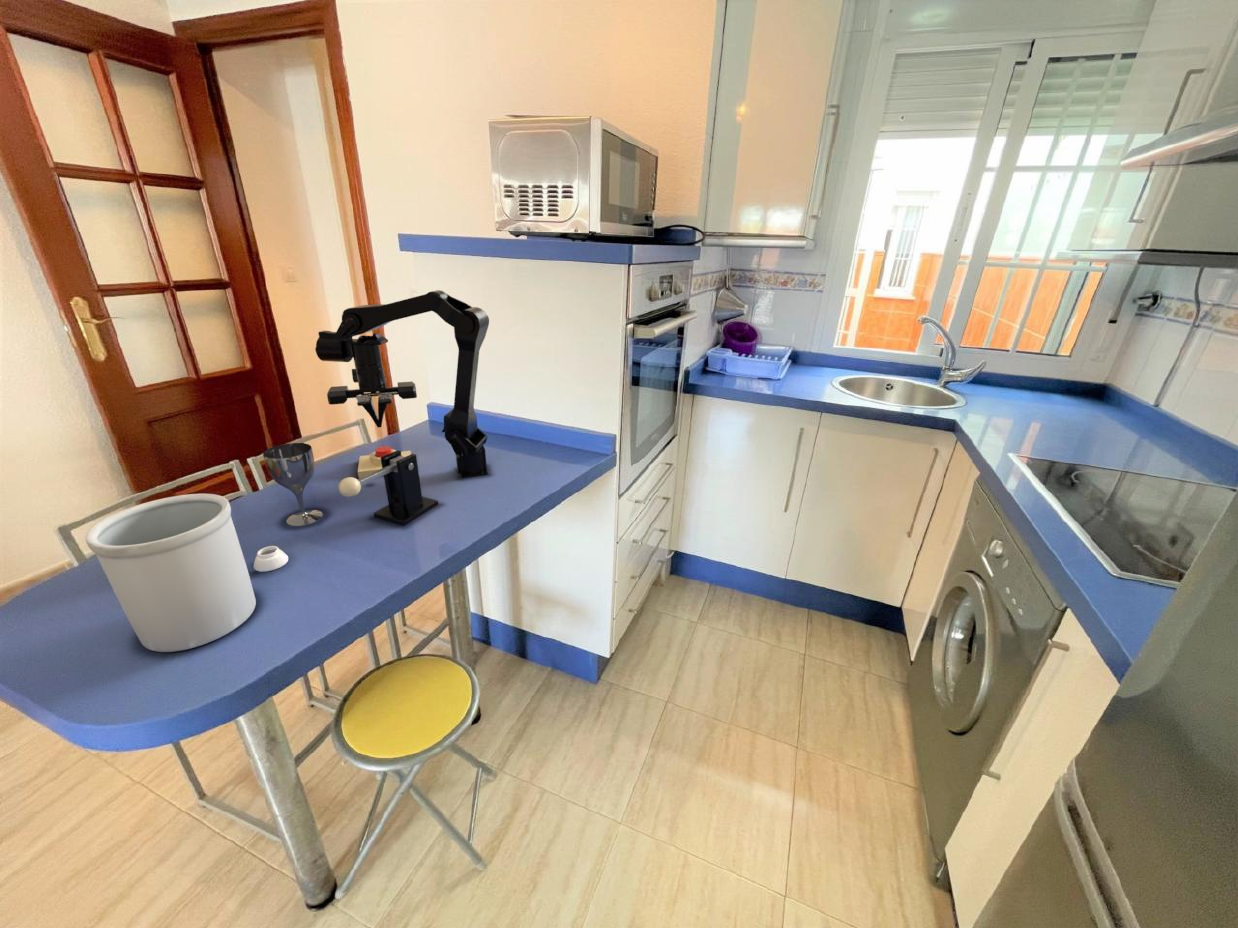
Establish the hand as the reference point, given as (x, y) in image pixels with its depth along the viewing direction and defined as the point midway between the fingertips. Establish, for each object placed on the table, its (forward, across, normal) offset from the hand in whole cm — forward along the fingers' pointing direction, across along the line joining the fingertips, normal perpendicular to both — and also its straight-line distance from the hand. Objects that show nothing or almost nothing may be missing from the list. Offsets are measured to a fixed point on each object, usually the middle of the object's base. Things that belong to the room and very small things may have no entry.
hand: (379, 426), depth 122 cm
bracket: (+11, -4, +26) cm, 28 cm away
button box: (+11, 0, 0) cm, 11 cm away
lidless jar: (+11, +18, +38) cm, 43 cm away
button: (+8, 0, 0) cm, 8 cm away
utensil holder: (+11, +25, +50) cm, 57 cm away
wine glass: (+11, +15, +22) cm, 29 cm away
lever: (+1, 0, +30) cm, 30 cm away
